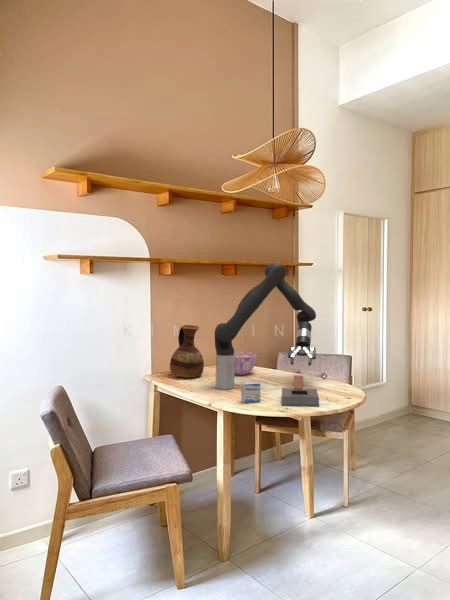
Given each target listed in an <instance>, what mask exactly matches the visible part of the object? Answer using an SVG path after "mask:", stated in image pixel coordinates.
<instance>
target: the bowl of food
mask: <svg viewBox="0 0 450 600" xmlns="http://www.w3.org/2000/svg"><path fill="white" fill-rule="evenodd" d="M256 359H257V354H256V353H254V352H247V351H234V376H244V375H247V374H249V373H250V372H252V371H253V369H254V367H255V363H256Z"/></svg>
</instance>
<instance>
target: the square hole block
mask: <svg viewBox="0 0 450 600" xmlns="http://www.w3.org/2000/svg"><path fill="white" fill-rule="evenodd" d="M319 405H320V397H319V393H318V390H317V388H303V389H301V388H294V387H291V388H290V387H281V406H283V407H284V406H286V407H289V406H290V407H292V406H293V407H317V408H319V407H320V406H319Z"/></svg>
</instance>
